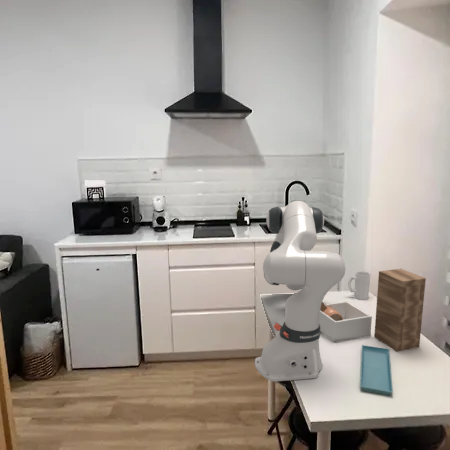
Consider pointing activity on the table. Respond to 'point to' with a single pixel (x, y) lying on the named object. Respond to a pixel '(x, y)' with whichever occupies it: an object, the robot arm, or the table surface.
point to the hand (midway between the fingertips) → (321, 269)
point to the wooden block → (399, 309)
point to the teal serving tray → (376, 370)
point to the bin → (345, 323)
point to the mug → (360, 285)
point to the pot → (331, 312)
